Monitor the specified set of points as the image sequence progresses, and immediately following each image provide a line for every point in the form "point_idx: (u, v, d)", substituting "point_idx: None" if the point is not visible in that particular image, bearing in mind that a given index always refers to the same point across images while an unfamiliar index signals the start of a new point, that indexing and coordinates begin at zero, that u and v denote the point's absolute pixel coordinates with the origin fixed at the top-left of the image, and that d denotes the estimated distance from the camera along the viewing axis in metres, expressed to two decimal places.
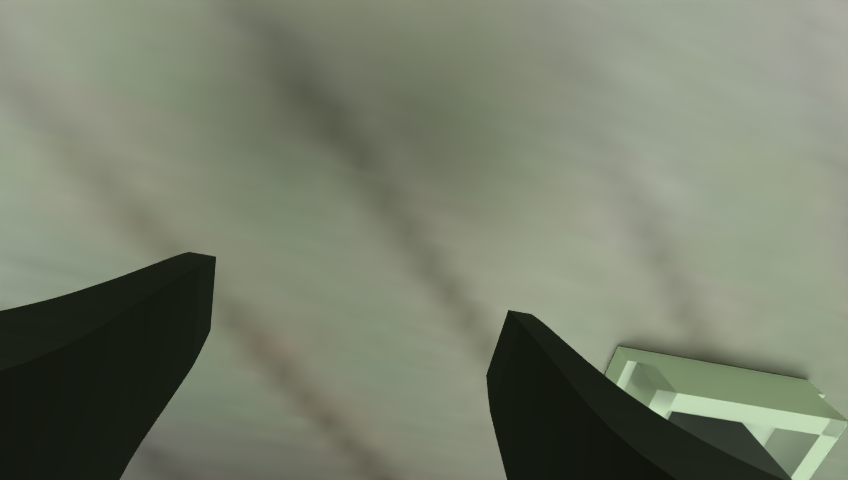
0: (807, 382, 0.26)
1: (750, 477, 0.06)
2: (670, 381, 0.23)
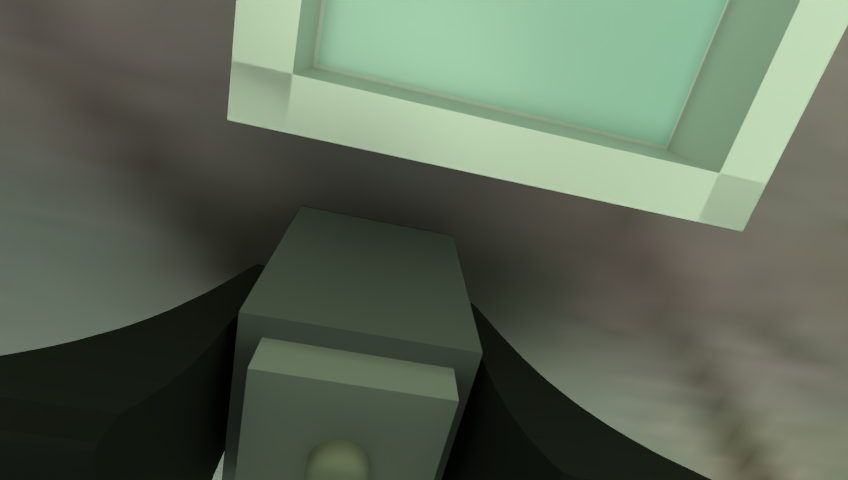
0: None
1: (639, 461, 0.06)
2: None
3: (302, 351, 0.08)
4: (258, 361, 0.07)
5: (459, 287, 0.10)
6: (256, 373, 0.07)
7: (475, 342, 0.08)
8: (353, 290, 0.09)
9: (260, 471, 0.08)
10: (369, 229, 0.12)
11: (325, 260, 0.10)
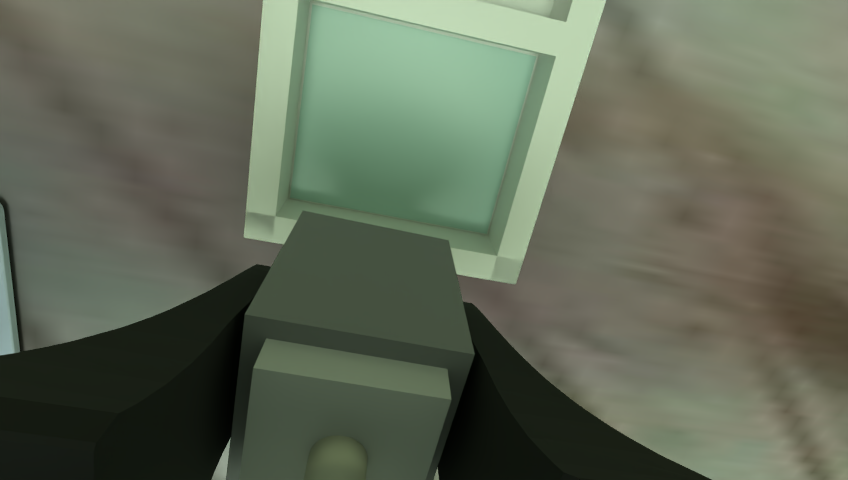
0: None
1: (640, 461, 0.06)
2: None
3: (304, 351, 0.08)
4: (263, 361, 0.08)
5: (453, 291, 0.11)
6: (261, 372, 0.08)
7: (468, 344, 0.09)
8: (353, 294, 0.10)
9: (263, 464, 0.08)
10: (367, 233, 0.13)
11: (325, 264, 0.10)
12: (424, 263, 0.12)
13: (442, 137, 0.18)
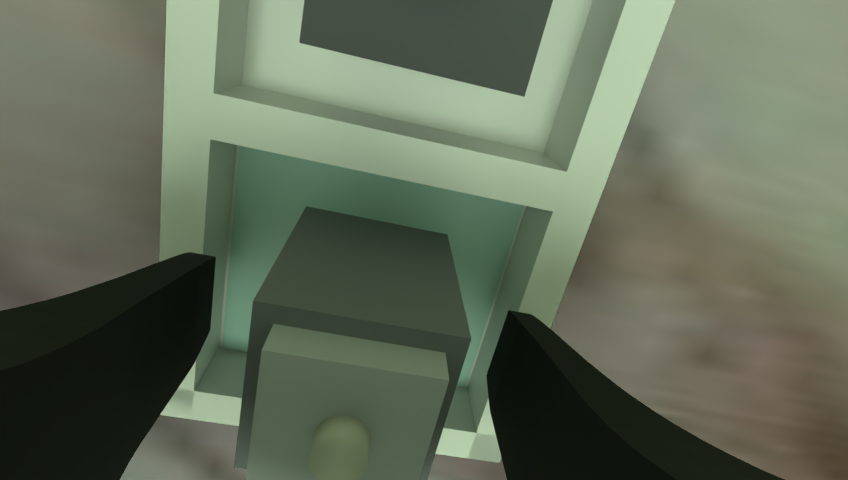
0: None
1: (750, 477, 0.06)
2: None
3: (310, 335, 0.09)
4: (271, 344, 0.08)
5: (452, 281, 0.11)
6: (269, 354, 0.08)
7: (465, 329, 0.09)
8: (355, 283, 0.10)
9: (271, 444, 0.09)
10: (369, 227, 0.13)
11: (329, 255, 0.11)
12: (423, 255, 0.12)
13: None
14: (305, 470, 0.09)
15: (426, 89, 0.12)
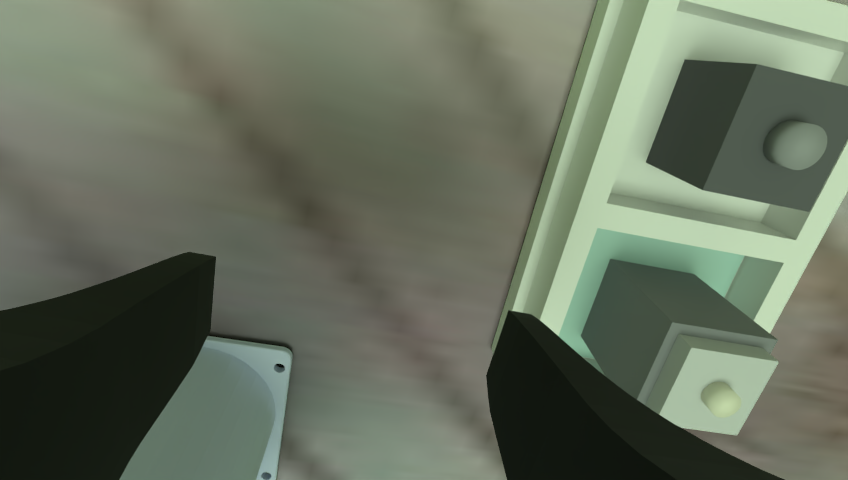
0: None
1: (750, 477, 0.06)
2: None
3: (699, 340, 0.17)
4: (691, 344, 0.16)
5: (732, 306, 0.19)
6: (693, 350, 0.16)
7: (769, 335, 0.17)
8: (696, 310, 0.18)
9: (678, 398, 0.17)
10: (655, 272, 0.21)
11: (664, 293, 0.19)
12: (701, 290, 0.20)
13: None
14: (690, 412, 0.17)
15: (696, 187, 0.20)
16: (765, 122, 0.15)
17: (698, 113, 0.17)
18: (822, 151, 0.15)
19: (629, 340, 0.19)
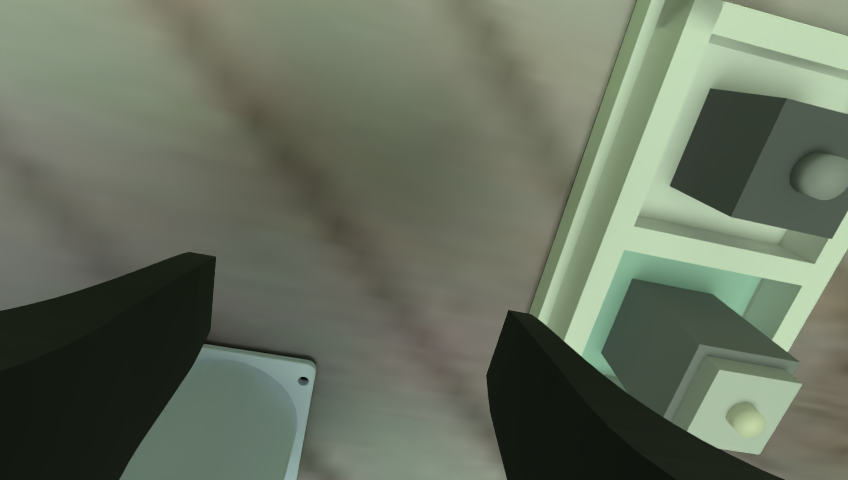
0: None
1: (750, 477, 0.06)
2: None
3: (726, 361, 0.17)
4: (719, 366, 0.17)
5: (753, 328, 0.20)
6: (721, 372, 0.16)
7: (792, 357, 0.18)
8: (720, 331, 0.18)
9: (704, 417, 0.17)
10: (676, 292, 0.21)
11: (688, 314, 0.19)
12: (722, 311, 0.21)
13: None
14: (715, 432, 0.17)
15: (717, 211, 0.21)
16: (793, 153, 0.16)
17: (725, 141, 0.18)
18: None
19: (654, 359, 0.19)
